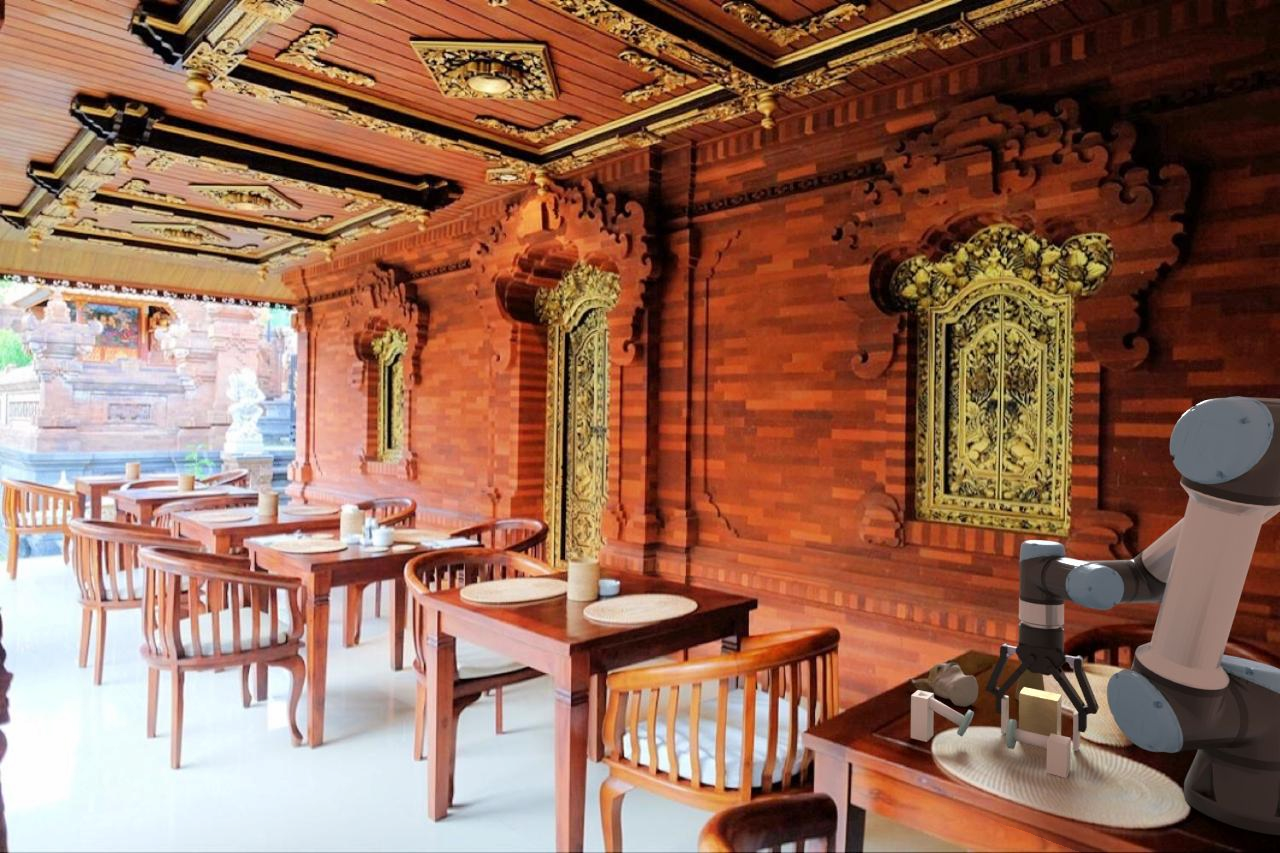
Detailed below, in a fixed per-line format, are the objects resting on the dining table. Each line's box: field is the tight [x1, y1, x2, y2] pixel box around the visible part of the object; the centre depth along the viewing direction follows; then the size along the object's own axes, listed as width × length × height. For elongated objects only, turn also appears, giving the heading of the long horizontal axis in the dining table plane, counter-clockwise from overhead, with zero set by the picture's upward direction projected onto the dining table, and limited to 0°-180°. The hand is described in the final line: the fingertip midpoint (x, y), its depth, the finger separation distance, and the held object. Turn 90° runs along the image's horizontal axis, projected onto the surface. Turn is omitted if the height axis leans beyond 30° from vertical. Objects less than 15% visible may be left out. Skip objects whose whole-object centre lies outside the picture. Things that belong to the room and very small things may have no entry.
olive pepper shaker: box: [1014, 656, 1046, 701], centre depth 166 cm, size 6×6×11 cm
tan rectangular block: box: [1018, 687, 1063, 736], centre depth 143 cm, size 4×6×9 cm
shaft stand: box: [910, 689, 1072, 779], centre depth 138 cm, size 26×5×8 cm, turn 52°
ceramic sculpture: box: [908, 659, 979, 708], centre depth 166 cm, size 11×9×15 cm
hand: (1039, 739), depth 143 cm, fingers open, 11 cm apart
